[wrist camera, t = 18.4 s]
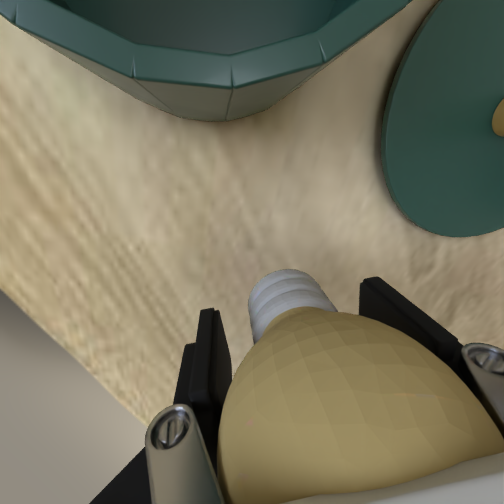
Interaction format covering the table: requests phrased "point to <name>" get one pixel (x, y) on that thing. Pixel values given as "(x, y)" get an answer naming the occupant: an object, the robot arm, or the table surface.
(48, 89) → the table surface
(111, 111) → the table surface
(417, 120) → the green pot lid
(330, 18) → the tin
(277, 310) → the light bulb
